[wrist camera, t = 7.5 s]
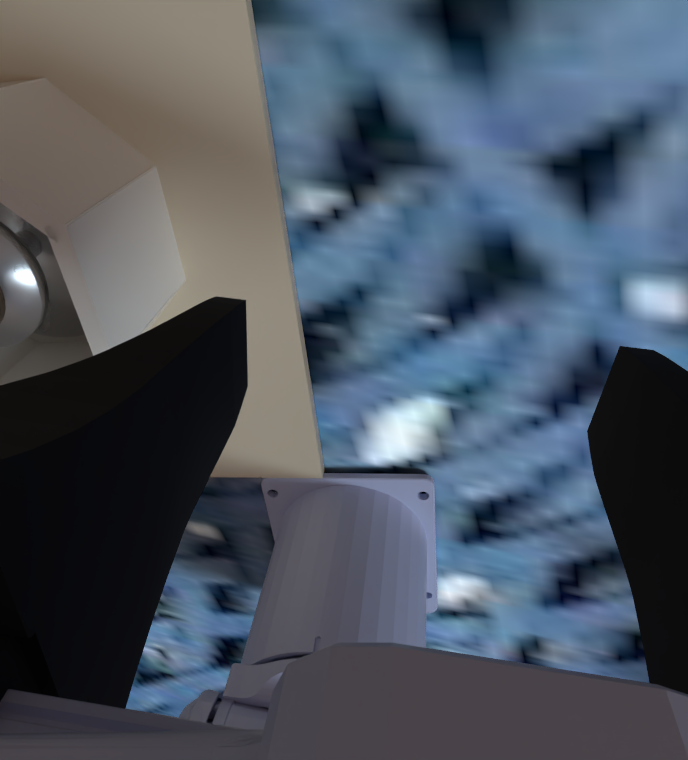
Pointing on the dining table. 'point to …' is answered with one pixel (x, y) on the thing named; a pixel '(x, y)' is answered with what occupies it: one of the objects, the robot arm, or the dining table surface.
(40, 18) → the press stand
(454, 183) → the dining table surface
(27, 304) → the lid
